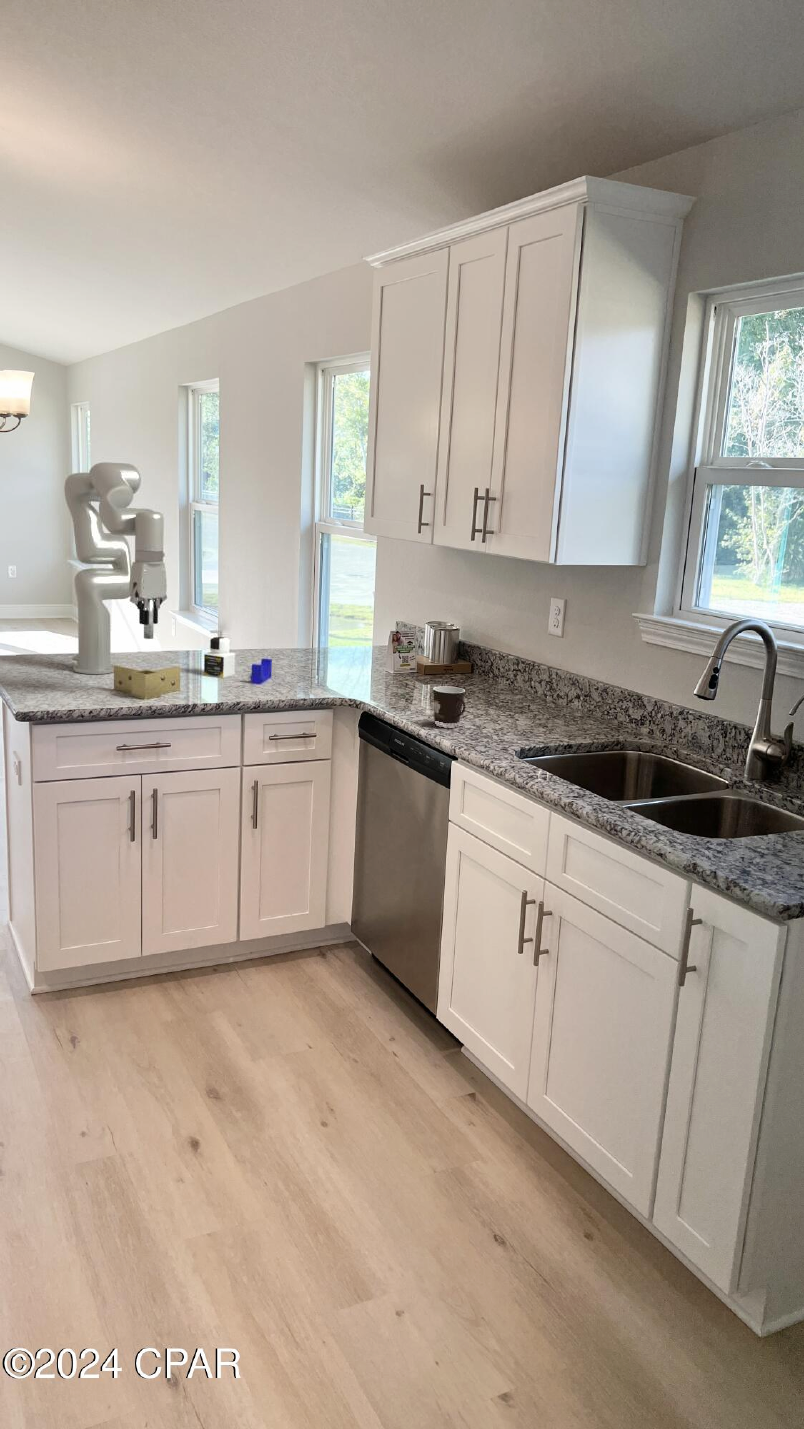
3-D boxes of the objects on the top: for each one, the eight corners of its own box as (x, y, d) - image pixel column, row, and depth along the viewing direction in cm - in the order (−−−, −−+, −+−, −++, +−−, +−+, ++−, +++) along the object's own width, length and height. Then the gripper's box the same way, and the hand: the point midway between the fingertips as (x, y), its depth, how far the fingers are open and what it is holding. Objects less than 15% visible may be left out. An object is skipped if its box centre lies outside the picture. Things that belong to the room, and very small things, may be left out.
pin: (139, 637, 288) (139, 591, 285) (148, 636, 291) (149, 590, 288) (148, 639, 286) (148, 592, 283) (157, 638, 289) (157, 591, 286)
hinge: (107, 690, 297) (107, 666, 295) (148, 683, 309) (148, 660, 308) (145, 699, 288) (145, 675, 287) (186, 692, 301) (186, 668, 299)
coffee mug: (428, 721, 284) (431, 685, 282) (460, 722, 285) (462, 687, 283) (433, 731, 273) (436, 694, 271) (466, 733, 274) (468, 696, 272)
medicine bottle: (203, 675, 325) (204, 637, 323) (215, 672, 332) (216, 635, 329) (223, 678, 323) (224, 640, 320) (235, 675, 329) (236, 637, 327)
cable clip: (257, 676, 330) (258, 658, 329) (271, 677, 330) (271, 659, 328) (246, 683, 319) (247, 664, 317) (260, 684, 318) (261, 665, 317)
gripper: (161, 554, 292) (160, 619, 296) (116, 556, 279) (116, 624, 283) (180, 557, 288) (179, 623, 292) (136, 559, 275) (136, 628, 279)
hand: (148, 623), depth 288 cm, fingers closed on pin, 2 cm apart
